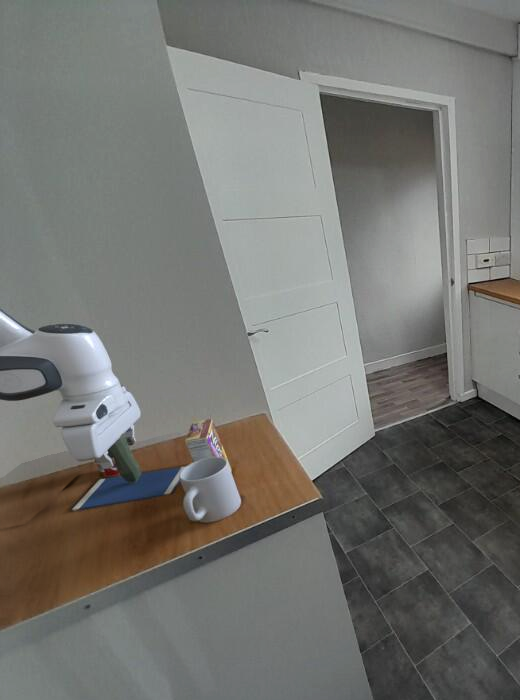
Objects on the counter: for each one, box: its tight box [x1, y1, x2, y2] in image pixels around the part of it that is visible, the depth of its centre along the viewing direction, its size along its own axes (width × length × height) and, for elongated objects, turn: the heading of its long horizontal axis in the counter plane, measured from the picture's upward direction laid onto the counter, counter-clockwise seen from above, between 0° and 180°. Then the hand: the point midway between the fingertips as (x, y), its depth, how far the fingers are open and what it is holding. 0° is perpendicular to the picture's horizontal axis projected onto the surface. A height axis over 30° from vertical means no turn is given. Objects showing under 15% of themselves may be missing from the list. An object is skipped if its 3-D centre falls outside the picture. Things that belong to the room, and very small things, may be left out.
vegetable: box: [107, 433, 142, 483], centre depth 91 cm, size 4×4×20 cm
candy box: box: [184, 418, 233, 473], centre depth 94 cm, size 9×4×15 cm, turn 26°
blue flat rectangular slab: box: [70, 465, 187, 512], centre depth 95 cm, size 18×11×1 cm, turn 109°
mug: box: [179, 457, 242, 524], centre depth 85 cm, size 12×8×11 cm
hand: (120, 454), depth 92 cm, fingers open, 8 cm apart
